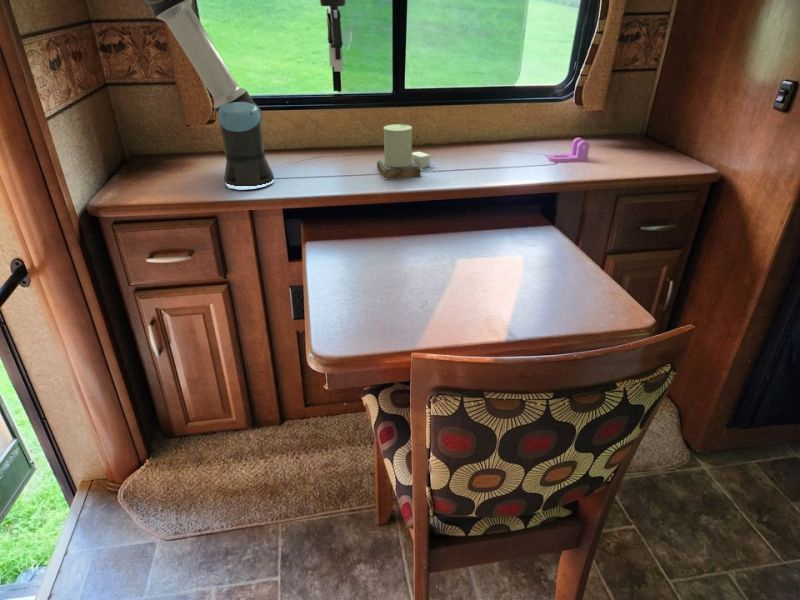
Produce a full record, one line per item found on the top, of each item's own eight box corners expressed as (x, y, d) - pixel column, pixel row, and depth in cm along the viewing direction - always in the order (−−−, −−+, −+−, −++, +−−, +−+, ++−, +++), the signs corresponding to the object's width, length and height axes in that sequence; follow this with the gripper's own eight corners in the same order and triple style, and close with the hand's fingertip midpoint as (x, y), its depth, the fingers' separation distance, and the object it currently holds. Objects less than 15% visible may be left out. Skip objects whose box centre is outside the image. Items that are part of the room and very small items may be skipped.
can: (417, 162, 172) (417, 125, 166) (400, 169, 165) (400, 130, 159) (395, 158, 176) (395, 121, 170) (378, 164, 170) (377, 126, 164)
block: (420, 168, 176) (420, 157, 174) (410, 164, 180) (410, 153, 178) (429, 166, 178) (429, 155, 176) (419, 162, 182) (419, 151, 180)
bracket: (580, 157, 186) (583, 137, 183) (586, 161, 181) (590, 141, 178) (545, 158, 185) (547, 138, 181) (551, 163, 180) (553, 142, 176)
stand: (384, 179, 166) (384, 170, 165) (377, 168, 176) (376, 159, 175) (420, 176, 169) (420, 167, 167) (411, 165, 179) (411, 157, 177)
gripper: (349, -10, 144) (353, 73, 155) (340, -9, 165) (343, 63, 176) (322, -10, 143) (327, 74, 154) (316, -9, 164) (321, 64, 175)
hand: (336, 68), depth 165 cm, fingers open, 13 cm apart
